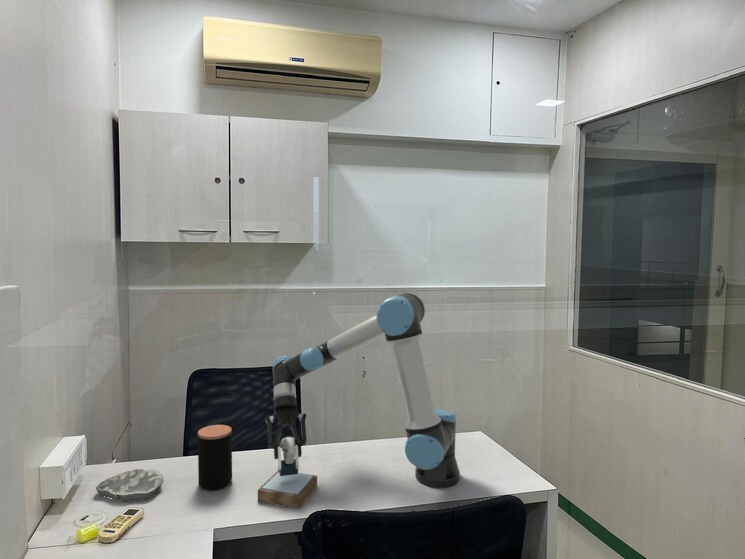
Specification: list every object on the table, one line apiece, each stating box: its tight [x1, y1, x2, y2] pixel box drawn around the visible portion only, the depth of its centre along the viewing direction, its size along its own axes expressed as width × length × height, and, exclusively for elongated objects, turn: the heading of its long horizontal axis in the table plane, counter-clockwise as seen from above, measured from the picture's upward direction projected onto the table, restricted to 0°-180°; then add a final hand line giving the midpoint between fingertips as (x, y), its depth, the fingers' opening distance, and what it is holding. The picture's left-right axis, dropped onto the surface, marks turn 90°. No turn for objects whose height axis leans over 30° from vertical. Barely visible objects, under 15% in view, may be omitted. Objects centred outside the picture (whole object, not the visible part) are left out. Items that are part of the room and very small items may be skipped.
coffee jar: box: [197, 424, 233, 491], centre depth 158 cm, size 11×11×18 cm
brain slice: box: [95, 468, 165, 502], centre depth 155 cm, size 20×17×3 cm
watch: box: [278, 436, 299, 476], centre depth 152 cm, size 6×8×11 cm
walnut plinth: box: [257, 470, 318, 509], centre depth 153 cm, size 14×14×4 cm
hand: (288, 467), depth 149 cm, fingers closed on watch, 5 cm apart
